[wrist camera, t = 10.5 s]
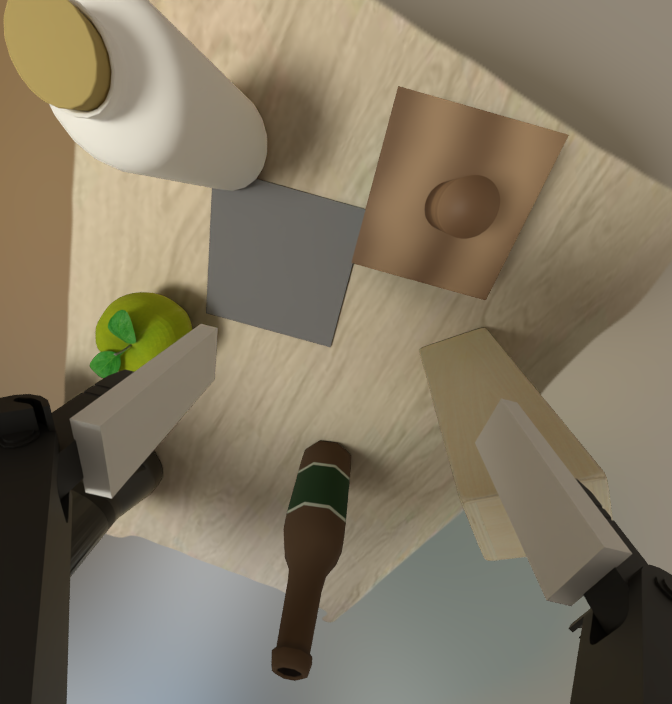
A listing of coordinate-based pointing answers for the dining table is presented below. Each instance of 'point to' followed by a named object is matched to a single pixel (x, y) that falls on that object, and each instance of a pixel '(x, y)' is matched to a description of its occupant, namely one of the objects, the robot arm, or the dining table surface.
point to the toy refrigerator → (472, 415)
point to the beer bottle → (311, 550)
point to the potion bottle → (136, 91)
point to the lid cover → (452, 192)
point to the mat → (280, 259)
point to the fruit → (137, 331)
